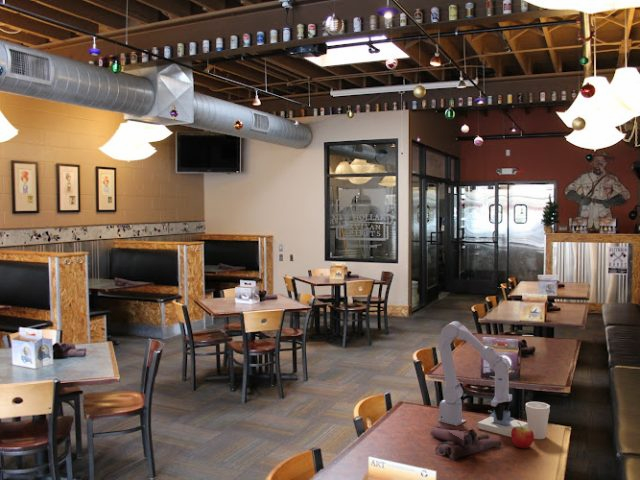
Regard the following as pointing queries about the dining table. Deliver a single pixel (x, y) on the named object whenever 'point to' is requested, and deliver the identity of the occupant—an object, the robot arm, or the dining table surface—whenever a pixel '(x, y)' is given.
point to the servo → (505, 419)
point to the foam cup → (537, 418)
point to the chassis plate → (500, 426)
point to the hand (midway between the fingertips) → (501, 419)
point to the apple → (522, 436)
